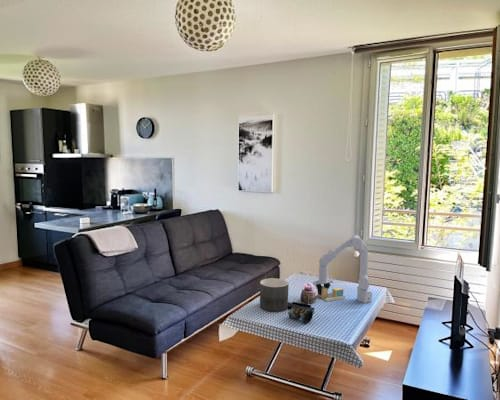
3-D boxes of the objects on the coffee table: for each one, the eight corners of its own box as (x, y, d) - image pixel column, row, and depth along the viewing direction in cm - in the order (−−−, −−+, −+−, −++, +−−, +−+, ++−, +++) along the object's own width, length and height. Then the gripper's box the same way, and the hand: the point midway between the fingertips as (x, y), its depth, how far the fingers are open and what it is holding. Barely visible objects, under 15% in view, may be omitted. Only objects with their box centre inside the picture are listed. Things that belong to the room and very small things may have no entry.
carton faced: (335, 299, 255) (336, 290, 254) (332, 297, 258) (332, 288, 258) (343, 297, 257) (343, 289, 257) (339, 296, 261) (339, 287, 260)
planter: (286, 313, 232) (286, 288, 231) (257, 310, 236) (257, 285, 234) (289, 303, 250) (289, 279, 248) (262, 300, 253) (262, 277, 252)
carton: (327, 297, 258) (327, 288, 257) (322, 298, 256) (322, 289, 256) (322, 294, 263) (322, 285, 263) (317, 295, 262) (317, 286, 261)
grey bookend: (344, 300, 256) (344, 295, 256) (326, 303, 250) (326, 298, 250) (333, 294, 267) (333, 290, 267) (315, 297, 261) (315, 292, 261)
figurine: (307, 316, 213) (285, 306, 223) (307, 328, 217) (285, 318, 226) (315, 308, 219) (293, 299, 229) (315, 320, 222) (294, 310, 232)
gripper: (328, 271, 265) (327, 291, 266) (310, 274, 259) (310, 293, 260) (334, 274, 259) (334, 294, 260) (316, 277, 253) (316, 297, 254)
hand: (322, 294), depth 260 cm, fingers closed on carton, 4 cm apart
